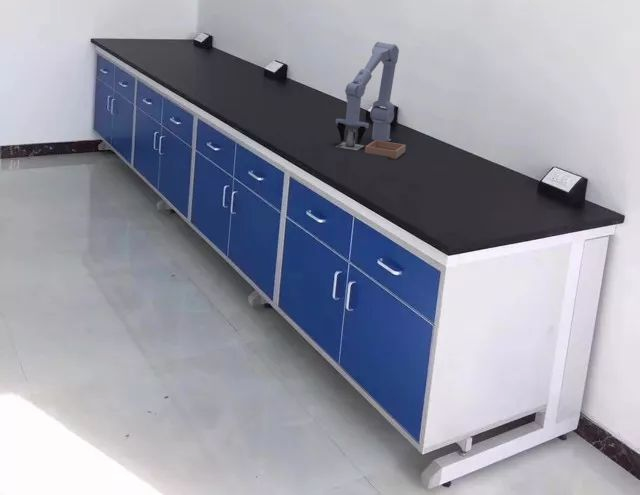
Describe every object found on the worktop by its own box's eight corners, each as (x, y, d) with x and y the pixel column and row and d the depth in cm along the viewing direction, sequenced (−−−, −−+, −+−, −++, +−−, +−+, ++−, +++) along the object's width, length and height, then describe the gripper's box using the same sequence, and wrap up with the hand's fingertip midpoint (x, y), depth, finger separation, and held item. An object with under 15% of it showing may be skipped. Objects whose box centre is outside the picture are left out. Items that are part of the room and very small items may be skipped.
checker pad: (343, 143, 352) (343, 141, 351) (364, 147, 348) (364, 145, 348) (335, 148, 343) (335, 146, 342) (357, 152, 340) (357, 149, 339)
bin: (374, 147, 349) (375, 140, 348) (405, 152, 345) (405, 144, 343) (364, 154, 337) (365, 146, 335) (396, 159, 332) (396, 151, 331)
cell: (347, 144, 348) (348, 127, 345) (356, 145, 346) (357, 129, 344) (344, 146, 344) (345, 129, 342) (353, 147, 343) (354, 130, 340)
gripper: (334, 110, 339) (331, 141, 343) (366, 115, 334) (363, 146, 339) (339, 107, 345) (337, 138, 350) (371, 112, 340) (368, 143, 345)
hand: (350, 142), depth 345 cm, fingers open, 7 cm apart
